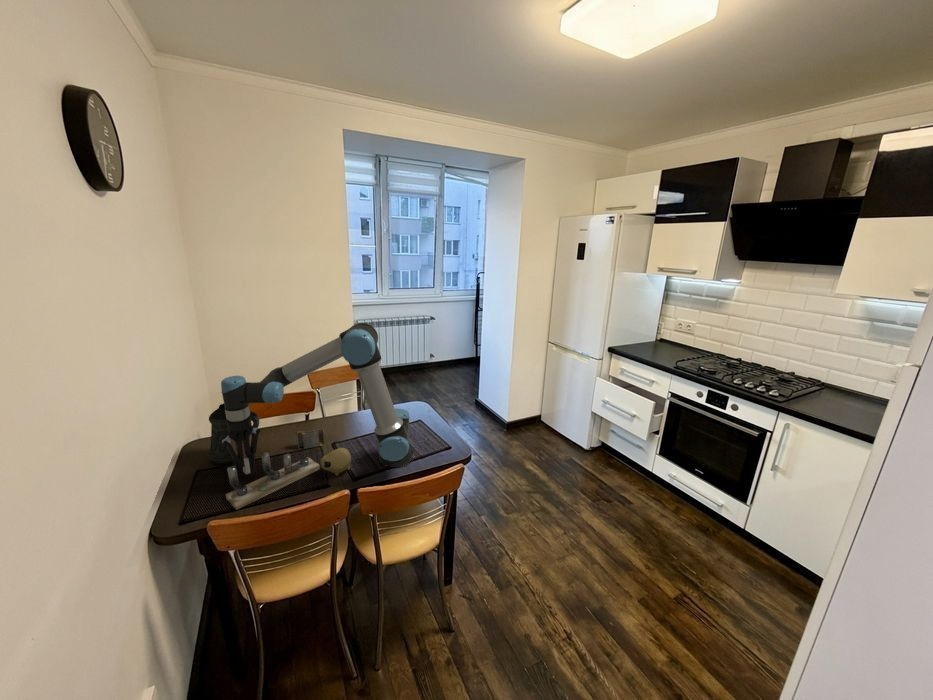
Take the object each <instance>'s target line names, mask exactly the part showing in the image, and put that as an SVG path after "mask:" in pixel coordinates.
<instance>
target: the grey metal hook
mask: <svg viewBox="0 0 933 700" xmlns="http://www.w3.org/2000/svg"><path fill="white" fill-rule="evenodd" d="M260 456H261V457H260V458H261V464H262V466H261V467H262V470H263V471H264V472H265V473H266V474H267V475H269V476H271V480H277V479H279V478H280V472H279V471H278V470H275V469H272V466H271V459H270V453H269V452H268V451H267V452H263V453H260Z"/></svg>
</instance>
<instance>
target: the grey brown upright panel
mask: <svg viewBox="0 0 933 700" xmlns="http://www.w3.org/2000/svg"><path fill="white" fill-rule="evenodd" d="M296 439H297V448H298V450H300V448H301V447H303V449H310V448H315V447H321V446H322V447H323V446H325V445H326V443H325V442H326V441H325V430H324V428H319V429H314V430H307V431H306V430H305V431H303V430H302V431H297V433H296Z"/></svg>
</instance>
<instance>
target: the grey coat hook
mask: <svg viewBox="0 0 933 700" xmlns="http://www.w3.org/2000/svg"><path fill="white" fill-rule="evenodd" d="M291 457H292V455H291V454H290V453H285V454H283V455H282V461H283V468H284V471H285V472H292V471H294V470H296V469H298V468H300V467H302V466H307V465H308V464H309V460H308V458H307V457H303V458H301V459H300V460H299V461H300V463H298V464H296V465H293V466H292V464H293V463H292V458H291Z"/></svg>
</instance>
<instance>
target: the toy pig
mask: <svg viewBox="0 0 933 700" xmlns="http://www.w3.org/2000/svg"><path fill="white" fill-rule="evenodd" d="M319 463H320V464H319V465H320V467H321V468H322V469H323V470H325V471H328V472H330V473H332V474H335V476H339V475H340V474H341V473H343V472H345V471H346V470H347V471H348V470H350V469H351V463H352V456H351V453H350V452H349V450H348V449H347V448H345V447H338V448H336V449H334V450H332V451H330V452H329V453H326V455H321V456H320V458H319Z"/></svg>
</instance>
